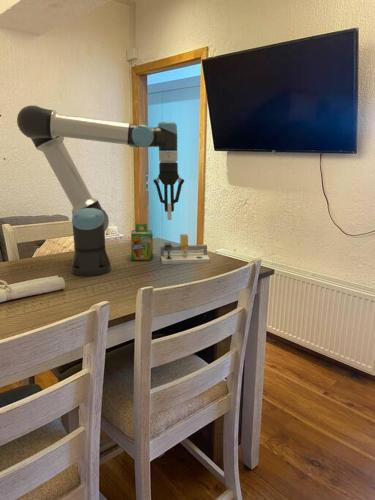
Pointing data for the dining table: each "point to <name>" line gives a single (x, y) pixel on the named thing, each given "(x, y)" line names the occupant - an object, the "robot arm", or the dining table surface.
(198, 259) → the hole plate
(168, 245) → the fixed leg
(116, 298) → the dining table surface
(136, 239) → the chalk box
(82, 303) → the dining table surface
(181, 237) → the block
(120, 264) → the dining table surface
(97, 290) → the dining table surface
